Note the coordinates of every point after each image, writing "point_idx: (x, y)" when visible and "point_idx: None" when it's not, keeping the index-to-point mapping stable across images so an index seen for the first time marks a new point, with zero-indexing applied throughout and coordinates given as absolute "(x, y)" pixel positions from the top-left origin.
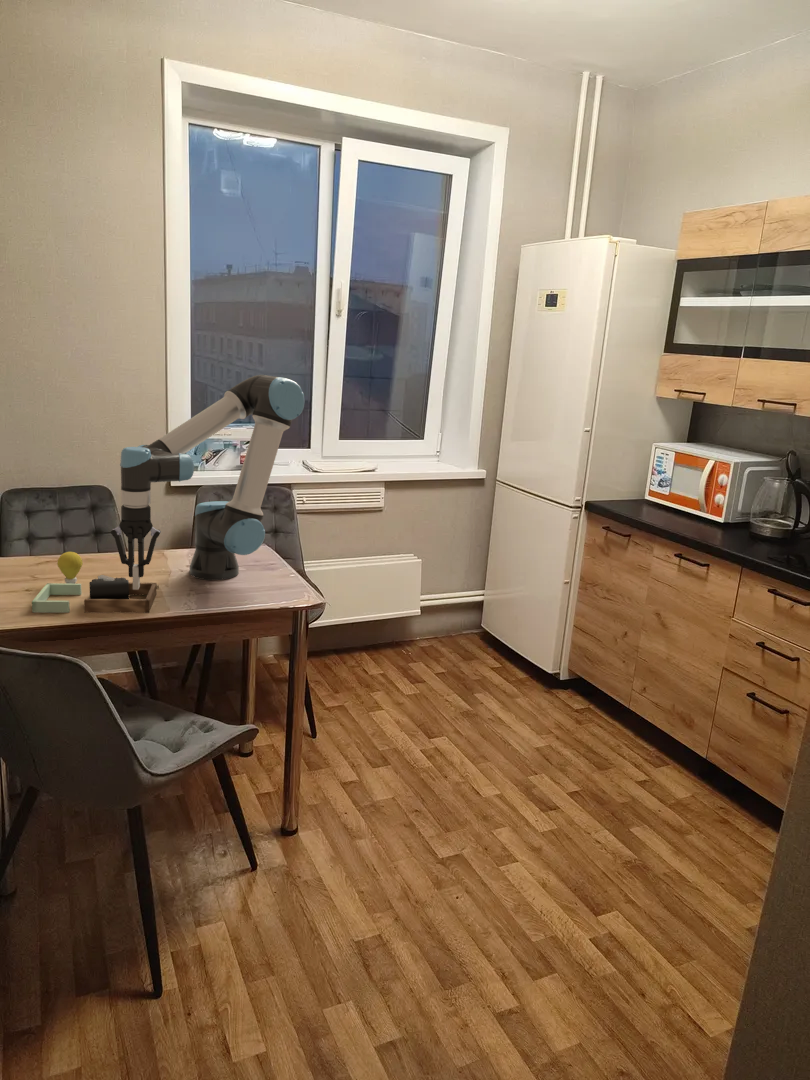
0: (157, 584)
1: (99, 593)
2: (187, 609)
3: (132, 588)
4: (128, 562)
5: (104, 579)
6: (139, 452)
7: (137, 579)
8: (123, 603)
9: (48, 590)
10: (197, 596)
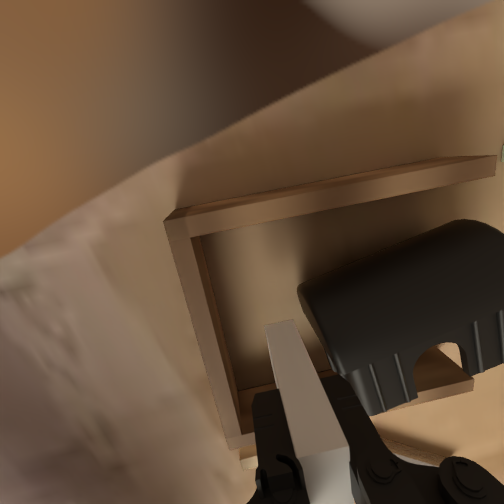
0: (247, 467)
1: (442, 240)
2: (25, 286)
3: None
4: (414, 488)
5: (433, 460)
6: None
7: (279, 365)
8: (296, 191)
9: None
10: (64, 424)
